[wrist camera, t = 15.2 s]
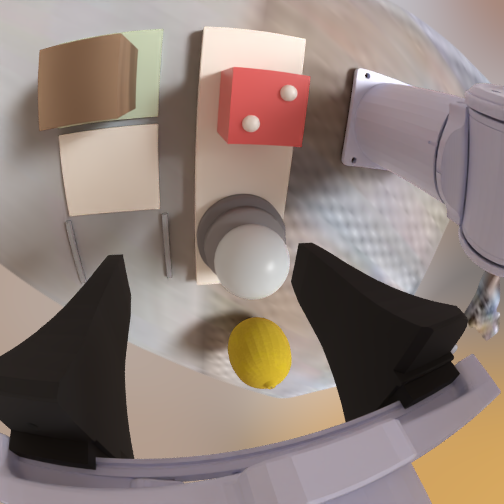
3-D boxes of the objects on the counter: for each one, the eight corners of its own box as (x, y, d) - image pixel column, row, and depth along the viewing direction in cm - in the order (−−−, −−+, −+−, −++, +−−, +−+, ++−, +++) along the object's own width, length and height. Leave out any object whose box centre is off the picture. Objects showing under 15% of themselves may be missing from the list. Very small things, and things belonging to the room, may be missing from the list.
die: (283, 76, 16) (314, 76, 12) (277, 134, 18) (304, 149, 14) (221, 71, 15) (235, 66, 11) (216, 131, 17) (229, 145, 13)
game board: (299, 40, 15) (312, 37, 14) (270, 271, 25) (277, 285, 24) (54, 46, 11) (42, 43, 9) (83, 284, 21) (78, 300, 20)
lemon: (216, 308, 26) (233, 380, 20) (273, 294, 27) (304, 360, 21) (226, 343, 29) (243, 408, 23) (276, 330, 30) (302, 392, 24)
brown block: (138, 49, 13) (121, 33, 8) (135, 108, 15) (117, 118, 10) (78, 58, 12) (39, 50, 7) (77, 115, 14) (39, 131, 9)
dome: (286, 205, 20) (316, 240, 16) (276, 271, 23) (298, 313, 19) (204, 207, 18) (214, 246, 14) (204, 277, 21) (213, 324, 17)
